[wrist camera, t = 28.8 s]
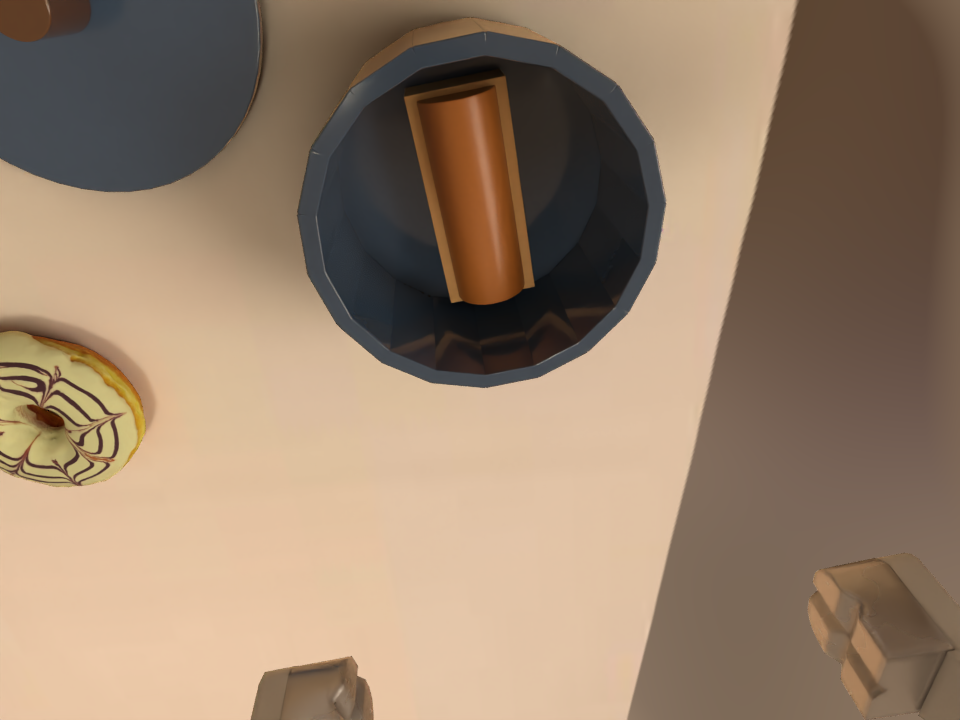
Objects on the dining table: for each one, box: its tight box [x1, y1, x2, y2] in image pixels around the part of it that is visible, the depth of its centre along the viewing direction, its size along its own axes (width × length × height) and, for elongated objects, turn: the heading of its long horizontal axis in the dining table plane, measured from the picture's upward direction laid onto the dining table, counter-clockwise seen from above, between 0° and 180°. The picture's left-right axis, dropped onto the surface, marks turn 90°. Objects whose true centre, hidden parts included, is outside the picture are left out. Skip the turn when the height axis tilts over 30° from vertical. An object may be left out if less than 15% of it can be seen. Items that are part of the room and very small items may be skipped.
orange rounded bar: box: [404, 69, 535, 305], centre depth 31 cm, size 11×5×4 cm, turn 10°
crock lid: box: [0, 0, 263, 192], centre depth 25 cm, size 17×17×5 cm
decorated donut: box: [0, 331, 146, 487], centre depth 36 cm, size 10×11×4 cm
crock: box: [297, 17, 666, 388], centre depth 29 cm, size 16×16×8 cm
